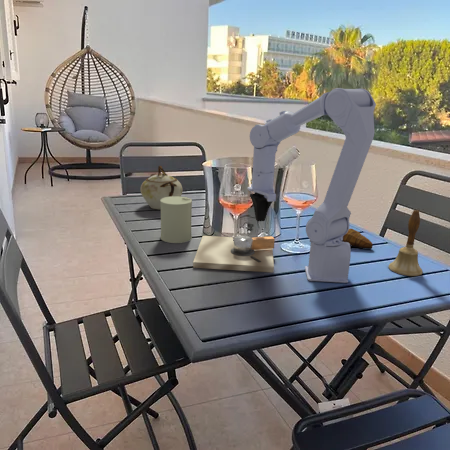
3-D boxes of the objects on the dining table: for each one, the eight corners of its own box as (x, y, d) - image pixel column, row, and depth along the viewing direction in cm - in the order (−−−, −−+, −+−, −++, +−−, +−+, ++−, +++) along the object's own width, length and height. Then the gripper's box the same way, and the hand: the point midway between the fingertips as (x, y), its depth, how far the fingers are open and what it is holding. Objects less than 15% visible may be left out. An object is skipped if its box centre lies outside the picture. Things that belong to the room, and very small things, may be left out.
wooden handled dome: (236, 254, 117) (237, 242, 116) (231, 247, 122) (231, 236, 121) (276, 251, 120) (276, 240, 119) (269, 244, 125) (270, 234, 124)
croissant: (323, 241, 135) (325, 225, 133) (334, 236, 140) (336, 220, 138) (366, 253, 127) (368, 236, 125) (376, 247, 131) (378, 231, 130)
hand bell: (424, 268, 118) (435, 209, 113) (419, 279, 111) (431, 217, 106) (391, 261, 122) (401, 203, 117) (385, 271, 115) (394, 211, 110)
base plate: (271, 244, 131) (271, 238, 130) (273, 272, 112) (273, 266, 111) (202, 240, 132) (202, 234, 131) (193, 267, 113) (193, 261, 112)
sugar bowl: (132, 202, 169) (131, 162, 164) (169, 198, 176) (169, 160, 171) (152, 216, 153) (152, 172, 148) (192, 211, 160) (192, 169, 155)
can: (195, 241, 131) (196, 201, 127) (164, 244, 128) (164, 203, 124) (186, 231, 139) (186, 193, 135) (157, 234, 136) (156, 195, 132)
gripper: (240, 166, 124) (238, 213, 129) (258, 177, 111) (255, 229, 115) (264, 165, 126) (261, 212, 131) (285, 176, 113) (281, 228, 117)
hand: (260, 220), depth 123 cm, fingers closed
